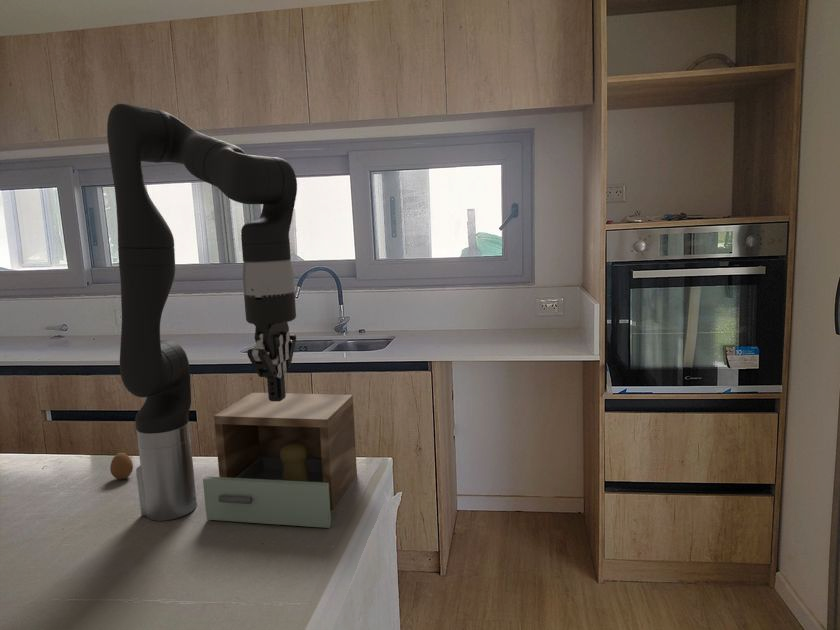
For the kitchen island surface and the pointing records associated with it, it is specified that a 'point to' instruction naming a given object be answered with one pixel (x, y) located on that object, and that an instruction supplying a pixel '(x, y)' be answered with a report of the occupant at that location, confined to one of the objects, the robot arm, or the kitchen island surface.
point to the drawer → (269, 495)
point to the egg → (121, 466)
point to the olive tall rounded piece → (294, 462)
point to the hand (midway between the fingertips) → (277, 399)
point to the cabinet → (290, 434)
